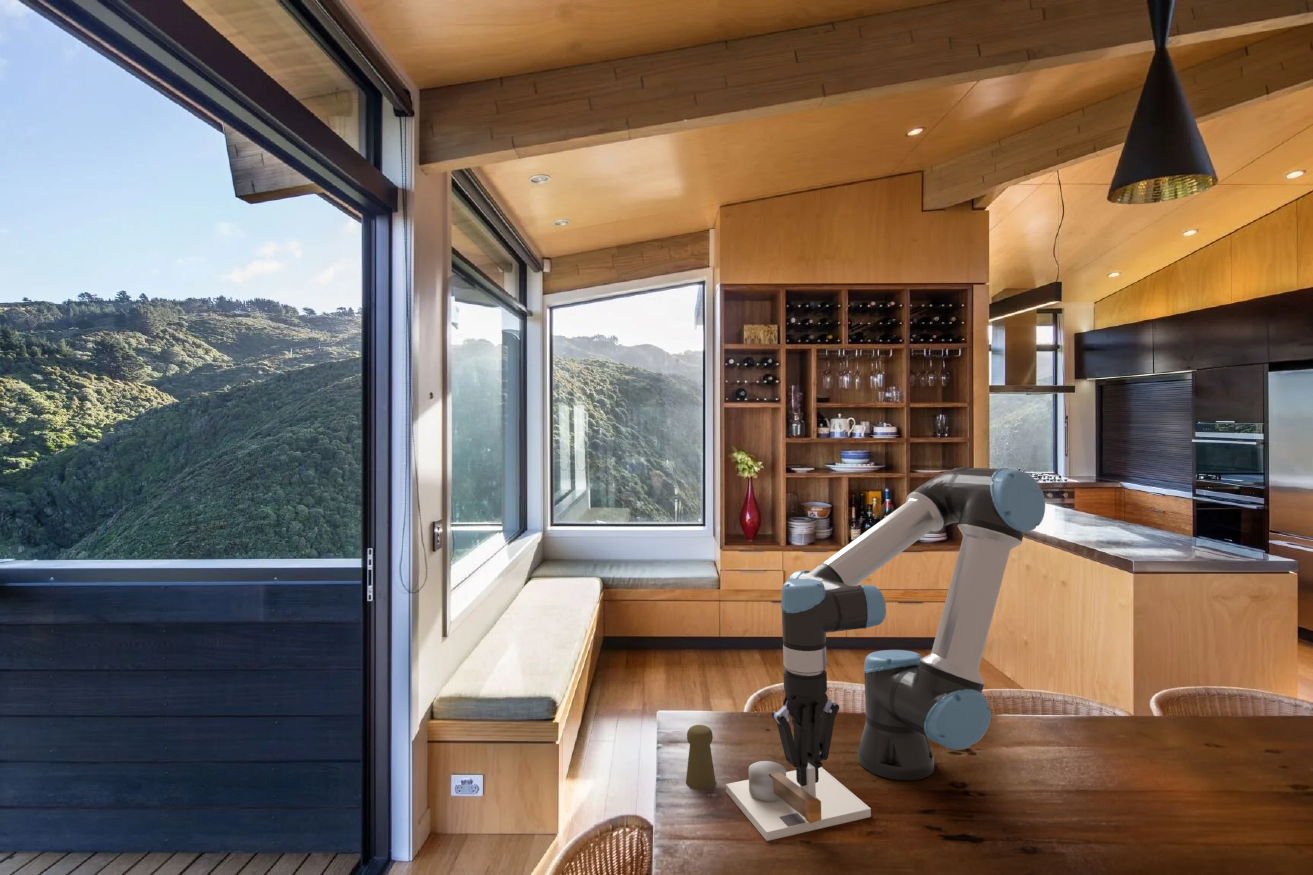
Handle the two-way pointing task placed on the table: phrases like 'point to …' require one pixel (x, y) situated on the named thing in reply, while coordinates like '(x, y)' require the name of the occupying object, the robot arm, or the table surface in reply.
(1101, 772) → the table surface
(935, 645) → the robot arm
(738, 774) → the table surface
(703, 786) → the olive pawn
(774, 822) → the base plate
